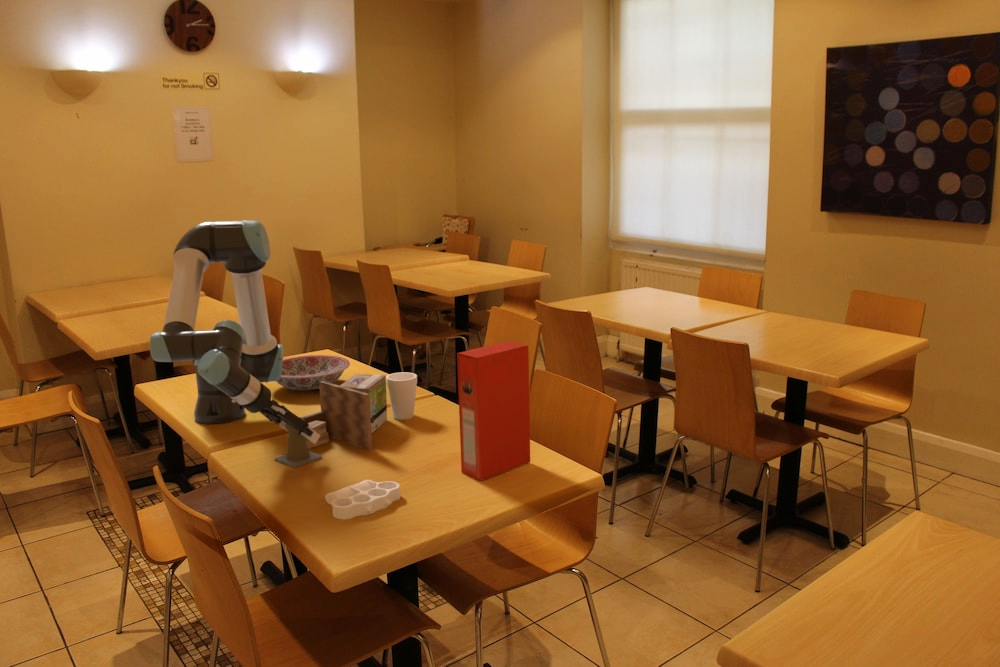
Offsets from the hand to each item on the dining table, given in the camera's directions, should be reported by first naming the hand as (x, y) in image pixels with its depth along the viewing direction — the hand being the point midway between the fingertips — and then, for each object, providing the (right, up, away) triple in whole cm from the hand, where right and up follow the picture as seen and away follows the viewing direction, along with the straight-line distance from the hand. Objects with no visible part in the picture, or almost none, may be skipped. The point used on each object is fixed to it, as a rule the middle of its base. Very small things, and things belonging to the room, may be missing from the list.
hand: (307, 435), depth 225 cm
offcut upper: (0, -1, +10) cm, 10 cm away
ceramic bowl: (-14, +9, +65) cm, 67 cm away
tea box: (+12, 0, +23) cm, 26 cm away
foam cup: (+23, +2, +32) cm, 39 cm away
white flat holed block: (+20, -13, -29) cm, 38 cm away
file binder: (+52, -7, -10) cm, 53 cm away
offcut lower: (0, -4, +10) cm, 11 cm away
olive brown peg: (-2, -6, -1) cm, 6 cm away
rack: (+5, -4, +8) cm, 10 cm away
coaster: (-2, -6, -1) cm, 7 cm away
